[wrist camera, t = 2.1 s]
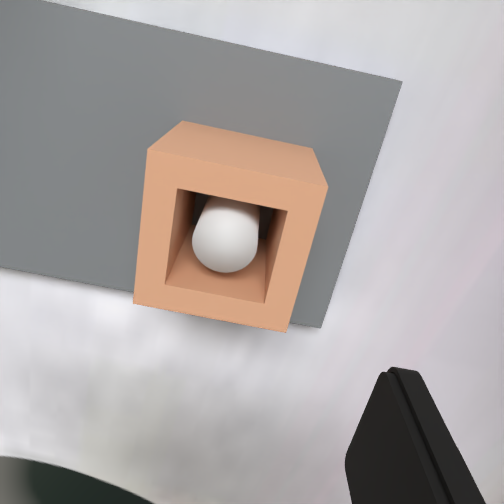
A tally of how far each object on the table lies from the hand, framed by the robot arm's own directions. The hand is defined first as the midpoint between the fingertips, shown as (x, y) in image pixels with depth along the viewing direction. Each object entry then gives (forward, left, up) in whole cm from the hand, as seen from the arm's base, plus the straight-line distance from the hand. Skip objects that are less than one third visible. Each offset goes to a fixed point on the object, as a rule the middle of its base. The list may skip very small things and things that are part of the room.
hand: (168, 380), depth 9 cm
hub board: (+7, 0, -14) cm, 16 cm away
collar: (-1, 0, -12) cm, 12 cm away
